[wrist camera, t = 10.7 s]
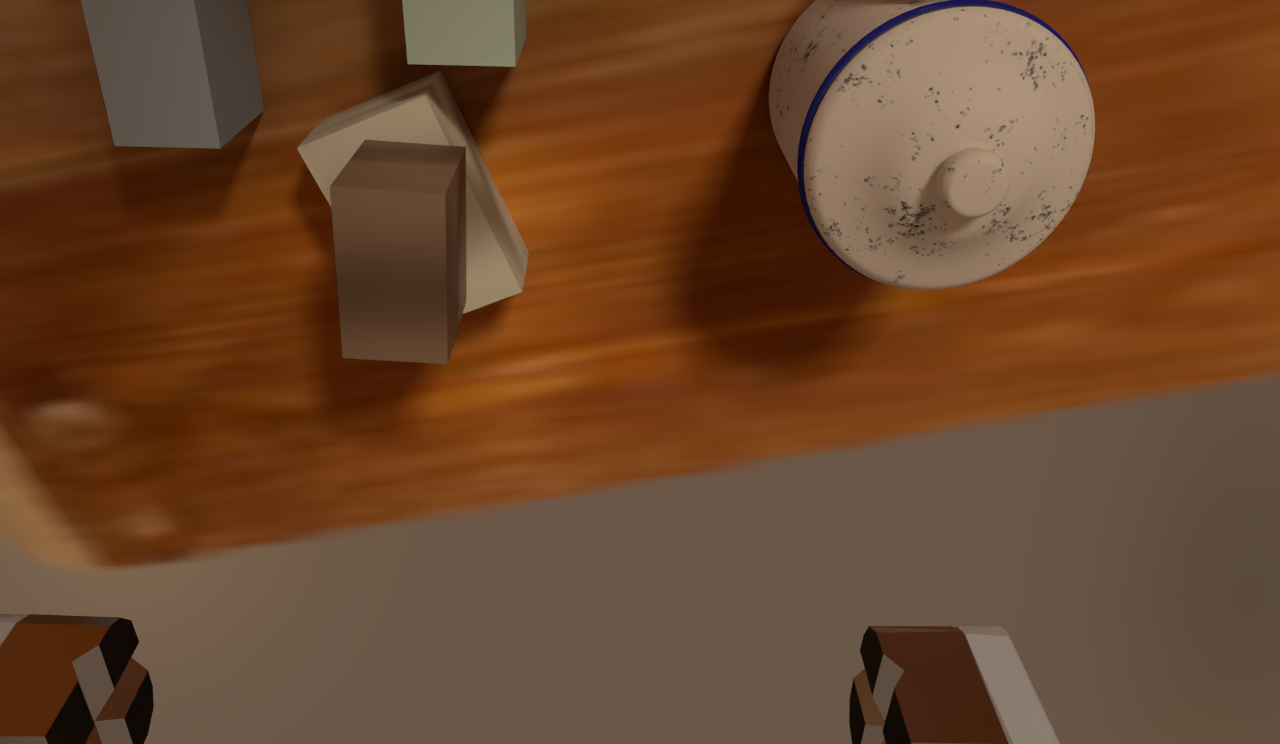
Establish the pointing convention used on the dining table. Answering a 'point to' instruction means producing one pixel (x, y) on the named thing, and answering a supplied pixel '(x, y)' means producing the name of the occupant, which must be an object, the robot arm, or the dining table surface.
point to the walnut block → (400, 250)
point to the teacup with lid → (931, 134)
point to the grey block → (175, 70)
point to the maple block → (435, 120)
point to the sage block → (464, 32)
